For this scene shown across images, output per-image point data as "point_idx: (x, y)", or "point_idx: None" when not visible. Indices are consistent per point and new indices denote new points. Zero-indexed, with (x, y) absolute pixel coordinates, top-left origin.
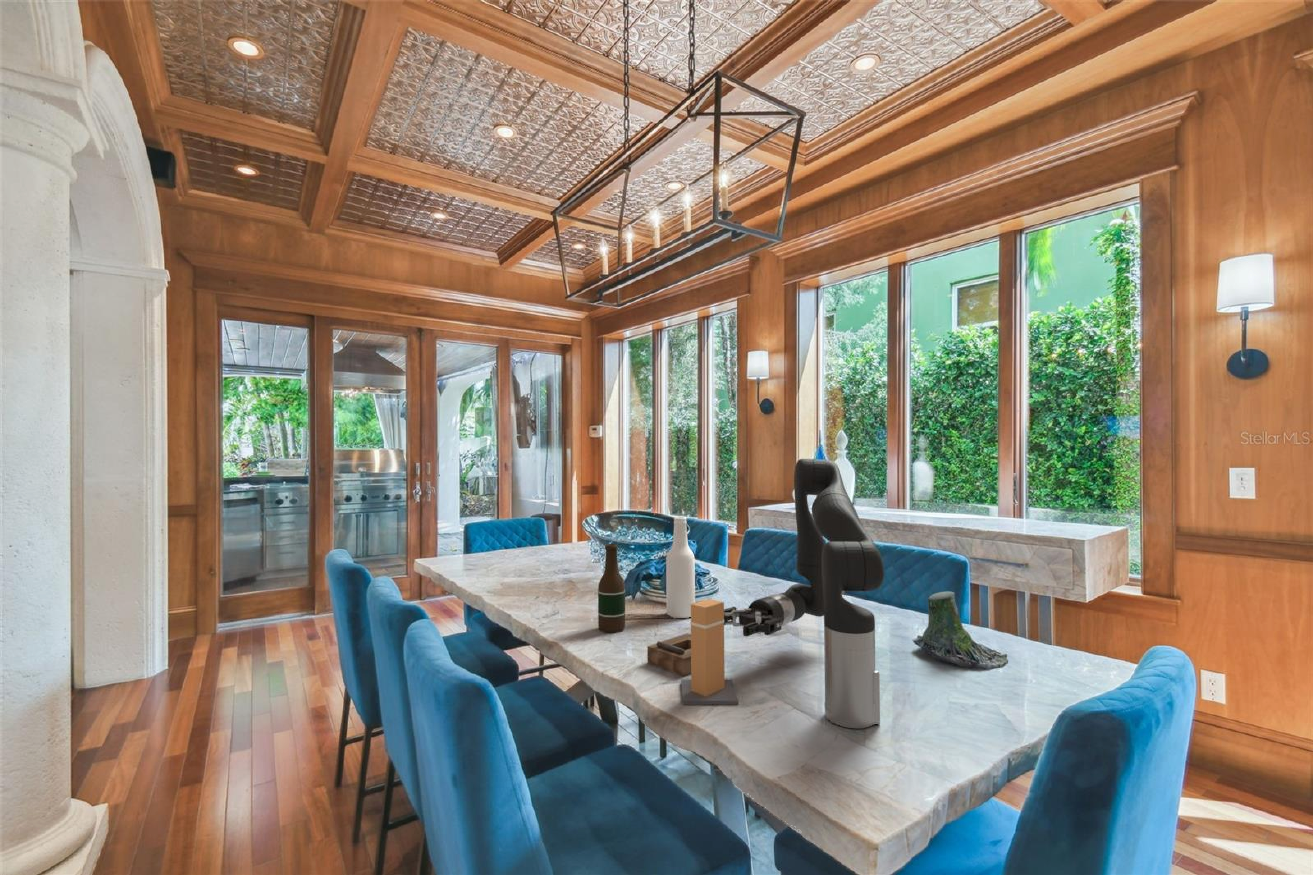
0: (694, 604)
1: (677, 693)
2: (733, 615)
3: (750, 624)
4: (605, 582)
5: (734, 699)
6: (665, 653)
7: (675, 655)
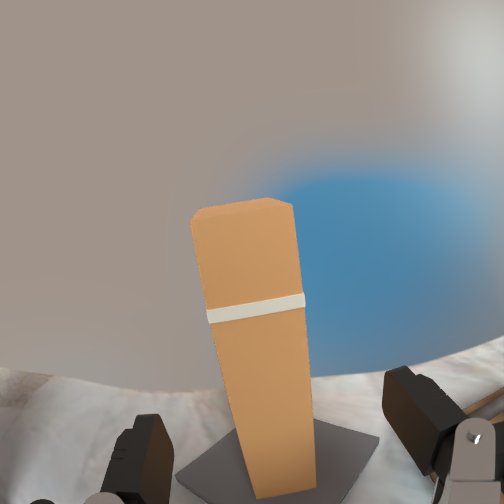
0: (256, 199)
1: (325, 420)
2: (443, 498)
3: (130, 446)
4: None
5: (185, 474)
6: (491, 396)
7: (462, 410)
